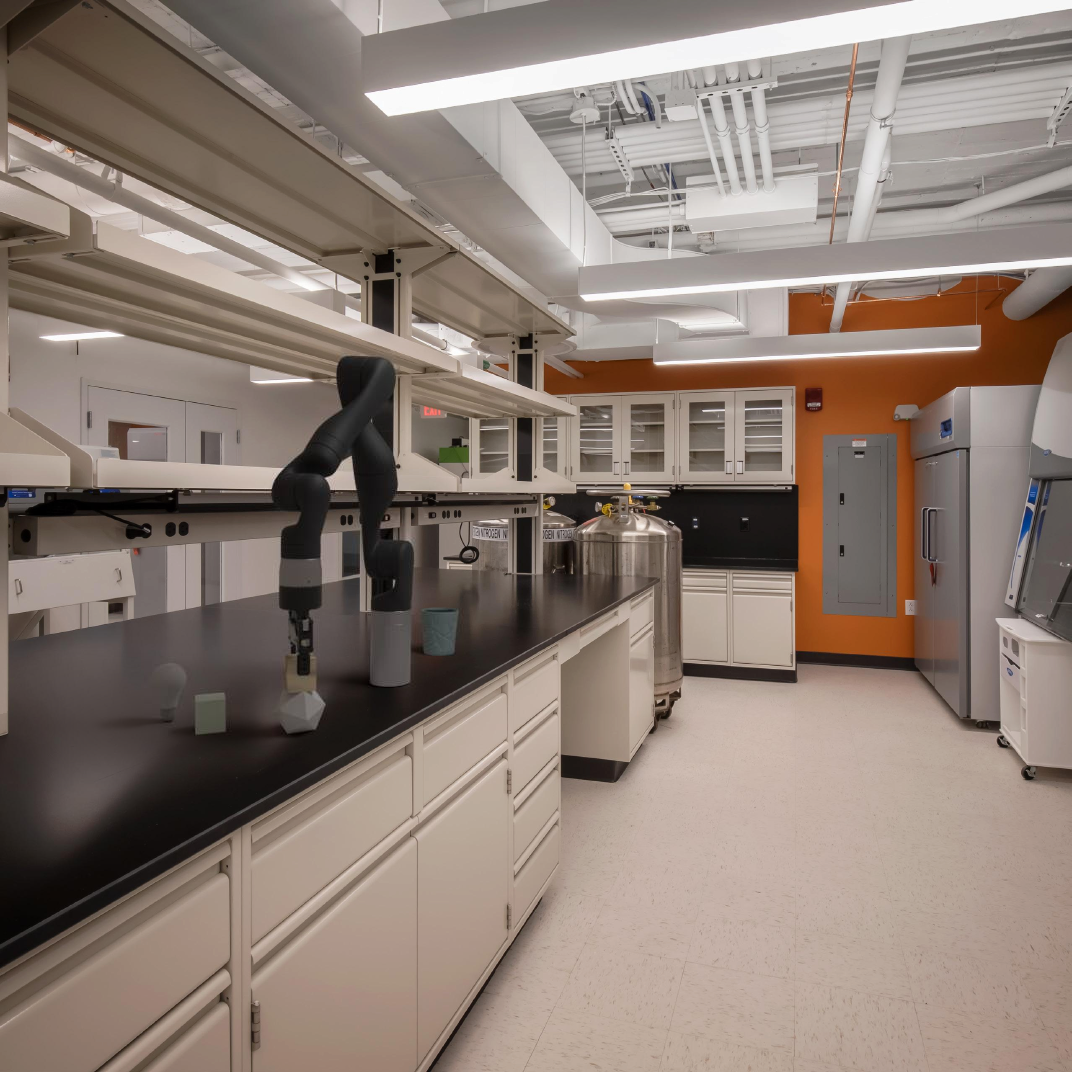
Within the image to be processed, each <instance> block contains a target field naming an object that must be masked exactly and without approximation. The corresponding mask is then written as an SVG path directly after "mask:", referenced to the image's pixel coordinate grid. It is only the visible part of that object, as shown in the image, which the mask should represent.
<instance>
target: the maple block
mask: <svg viewBox="0 0 1072 1072" xmlns="http://www.w3.org/2000/svg"><path fill="white" fill-rule="evenodd" d="M283 657H284V658H283V659H284V660H283V663H284V664H283V665H284V666H283V668H284V669H283V670H284V673H283V676H284V677H283V688H285V689H286V691H287V693H296V692H307V691H316V692H317V657H316V655H314V652H313V653H311V654H310V674H309V675H305V676H299V675H298V674H297V654H291V653H288V654H284V655H283Z"/></svg>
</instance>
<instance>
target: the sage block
mask: <svg viewBox="0 0 1072 1072" xmlns="http://www.w3.org/2000/svg"><path fill="white" fill-rule="evenodd" d="M226 703H227V701H226V694H225V692H216V693H215V692H214V693H213V692H212V693H202V694H195V695H194V730H195V731H194V732H195V733H194V734H195V736H196V735H205V734H207V735H208V734H218V733H224V732H225V733H226V732H227V731H226V726H227V725H226V724H227V723H226V722H227V721H226V719H227V715H226V714H227V713H226V712H227V711H226V709H227V708H226V707H227V706H226Z"/></svg>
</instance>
